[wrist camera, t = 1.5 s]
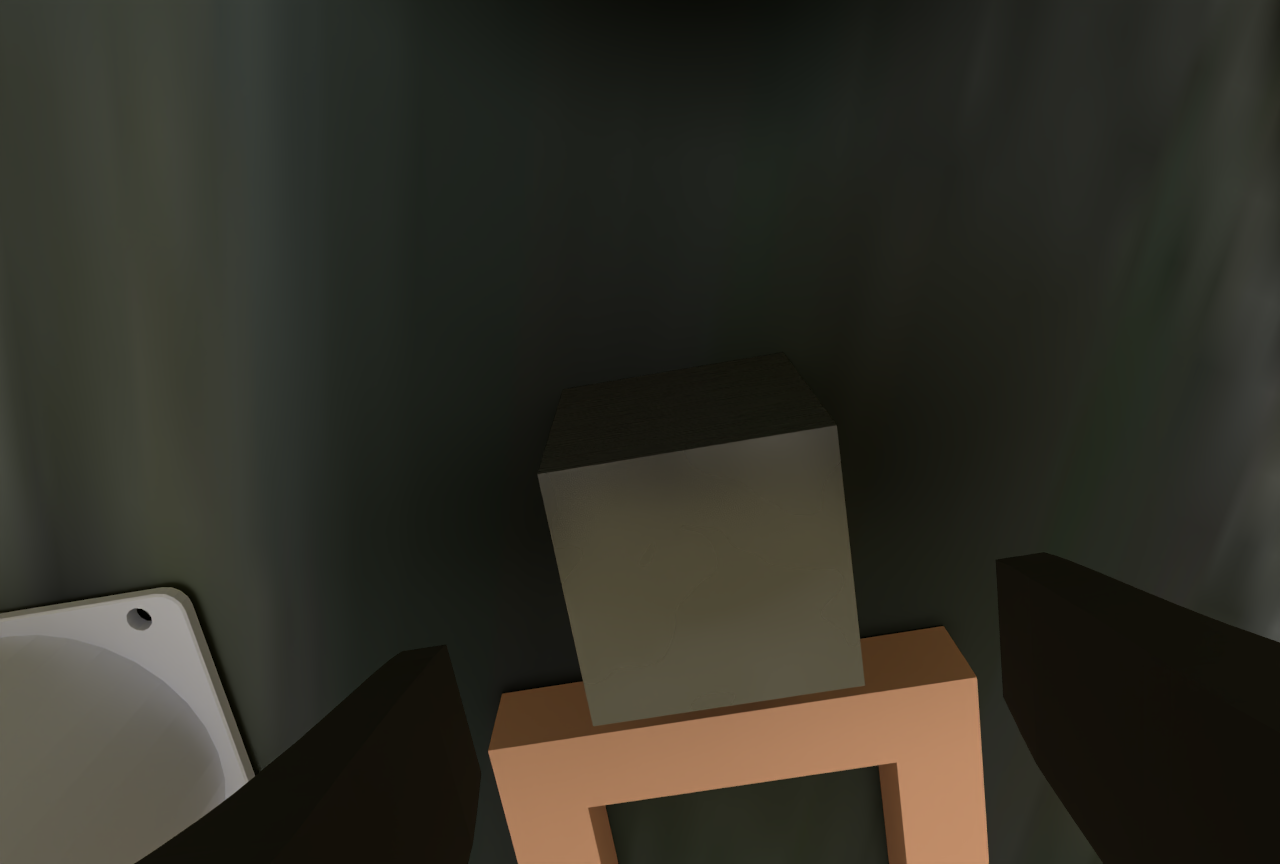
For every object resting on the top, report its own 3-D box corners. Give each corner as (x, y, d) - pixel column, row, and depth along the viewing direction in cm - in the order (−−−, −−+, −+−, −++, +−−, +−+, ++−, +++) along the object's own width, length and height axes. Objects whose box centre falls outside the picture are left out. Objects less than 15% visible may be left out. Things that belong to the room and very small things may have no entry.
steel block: (602, 584, 19) (593, 726, 15) (563, 388, 18) (537, 474, 13) (808, 552, 19) (865, 685, 14) (782, 351, 18) (836, 425, 13)
